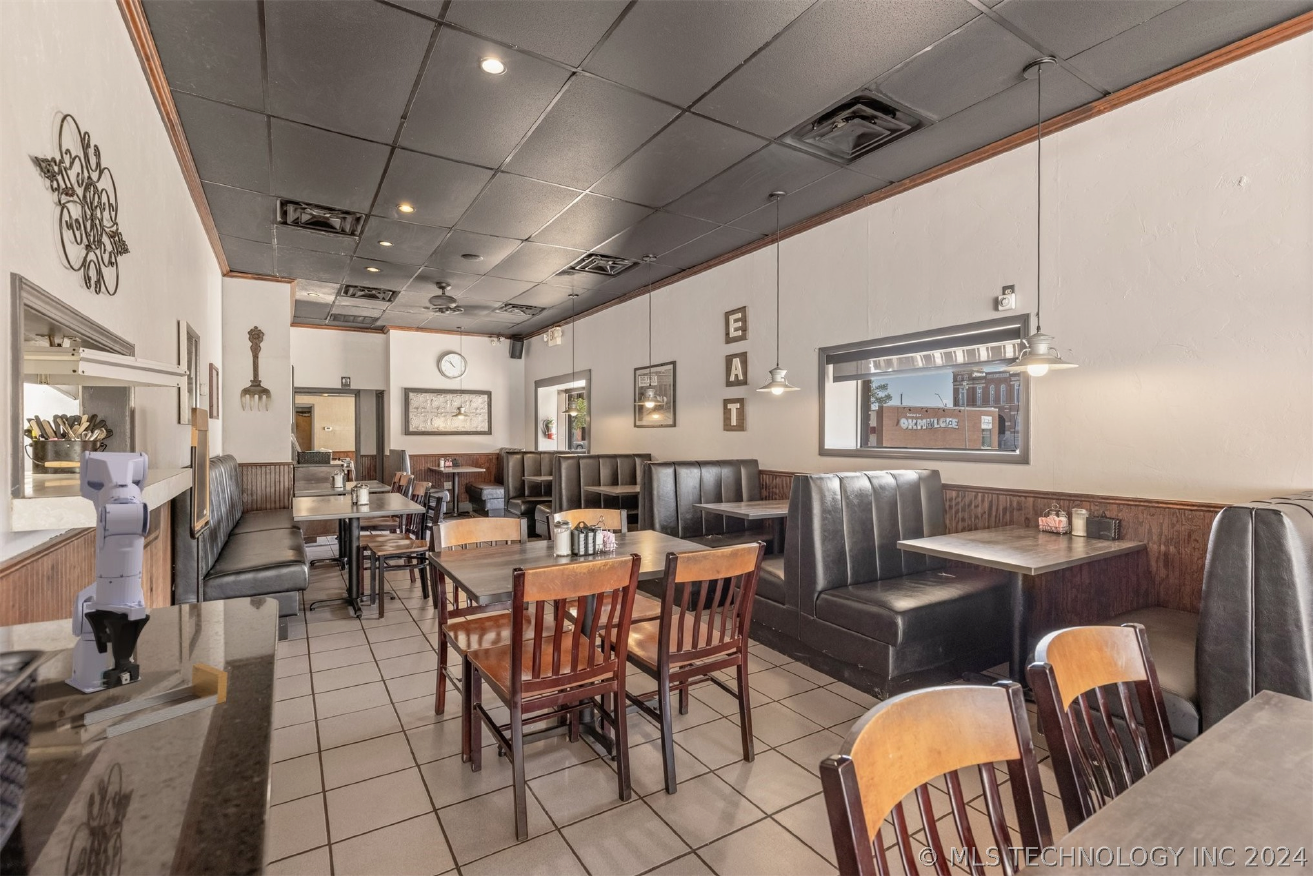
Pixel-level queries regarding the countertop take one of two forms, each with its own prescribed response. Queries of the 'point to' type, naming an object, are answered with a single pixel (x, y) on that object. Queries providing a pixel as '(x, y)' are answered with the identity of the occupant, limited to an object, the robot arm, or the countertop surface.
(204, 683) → the rail
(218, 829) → the countertop surface
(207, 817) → the countertop surface
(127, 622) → the robot arm
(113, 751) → the countertop surface
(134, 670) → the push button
